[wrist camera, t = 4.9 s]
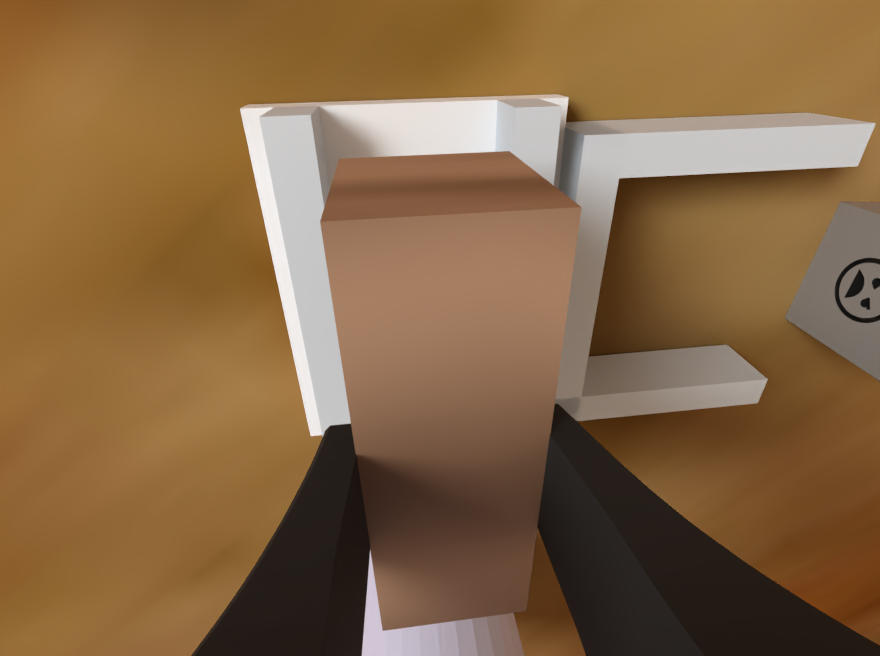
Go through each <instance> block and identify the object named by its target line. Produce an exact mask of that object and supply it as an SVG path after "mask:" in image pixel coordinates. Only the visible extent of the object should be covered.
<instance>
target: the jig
mask: <svg viewBox="0 0 880 656" xmlns="http://www.w3.org/2000/svg"><path fill="white" fill-rule="evenodd" d="M568 98H569V97H565V96H561V95H558V94H552V95H521V96H491V97H461V98H431V99H401V100H370V101H340V102H310V103H280V104H250V105H246V106H244V107H242V108H240V111H241V116H242V120H243V125H244V129H245V134H246V139H247V143H248V148H249V153H250V157H251V162H252V166H253V171H254V176H255V180H256V185H257V190H258V194H259V199H260V204H261V208H262V213H263V217H264V222H265V227H266V231H267V236H268V241H269V245H270V250H271V254H272V259H273V264H274V268H275V273H276V278H277V282H278V287H279V291H280V296H281V301H282V305H283V310H284V315H285V319H286V324H287V328H288V333H289V338H290V342H291V347H292V352H293V356H294V361H295V366H296V370H297V375H298V379H299V384H300V389H301V393H302V398H303V403H304V407H305V412H306V416H307V421H308V426H309V430H310V435H311V436H317V435H322V436H323V435H324V433H325V430H326V429H327V428H328V427H329V426H330V425H340V424H351V421H350V414H349V408H348V401H347V394H346V388H345V381H344V375H343V368H342V362H341V355H340V349H339V342H338V336H337V329H336V323H335V316H334V310H333V303H332V297H331V290H330V283H329V277H328V270H327V264H326V257H325V251H324V244H323V238H322V231H321V225H320V220H321V217H322V214H323V210H324V207H325V204H326V200H327V197H328V194H329V190H330V187H331V184H332V180H333V177H334V174H335V170H336V167H337V164H338V160H339V159H341V158H364V157H387V156H410V155H433V154H456V153H478V152H501V151H510V152H511V153H512V154H514V155H515V156H516V157H518V158H519V159H520V160H521V161H523V162H524V163H525V164H527V165H528V166H529V167H530V168H532V169H533V170H534V171H536V172H537V173H538V174H540V175H541V176H542V177H543V178H545V179H546V180H547V181H549V182H550V183H551V184H552V185H554V186H555V187H556V188H558V189H559V190H560V191H561V192H563V193H564V194H565V195H567V196H568V197H569V198H570V199H572V200H573V201H574V202H576V203H577V204H578V205H579V206H581V207H582V208H581V215H580V223H579V230H578V237H577V244H576V252H575V259H574V266H573V274H572V281H571V288H570V296H569V303H568V310H567V318H566V325H565V332H564V339H563V347H562V354H561V361H560V369H559V376H558V383H557V391H556V398H555V404H559V405H560V406H561V407H562V408H563V409H564V410H565V411H567V412H568V413H569V414H570V415H571V416H572V417H573V418H574V419H575V420H576V421H585V420H595V419H605V418H615V417H625V416H635V415H645V414H655V413H665V412H675V411H685V410H695V409H705V408H715V407H725V406H735V405H745V404H755V403H758V401H759V399H760V397H761V394H762V392H763V390H764V387H765V385H766V382H767V380H768V379H767V378H766V377H765V376H763V375H762V374H761V373H760V372H759V371H758V370H756V369H755V368H754V367H753V366H752V365H750V364H749V363H748V362H747V361H746V360H745V359H743V358H742V357H741V356H740V355H739V354H737V353H736V352H735V351H734V350H733V349H732V348H730V347H729V346H728V345H715V346H704V347H692V348H681V349H669V350H658V351H646V352H635V353H624V354H612V355H601V356H589V350H590V344H591V339H592V333H593V327H594V321H595V315H596V310H597V304H598V298H599V292H600V286H601V281H602V275H603V269H604V263H605V257H606V252H607V246H608V240H609V234H610V228H611V223H612V217H613V211H614V205H615V199H616V194H617V188H618V182H619V178H637V177H657V176H677V175H696V174H716V173H736V172H755V171H775V170H795V169H814V168H834V167H854V166H858V164H859V162H860V160H861V157H862V155H863V152H864V150H865V148H866V145H867V143H868V141H869V138H870V136H871V134H872V131H873V129H874V126H875V124H876V123H871V122H865V121H858V120H852V119H845V118H839V117H833V116H826V115H820V114H813V113H786V114H760V115H734V116H708V117H683V118H657V119H631V120H605V121H580V122H566V116H567V107H568ZM588 356H589V357H588Z"/></svg>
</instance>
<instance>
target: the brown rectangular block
mask: <svg viewBox="0 0 880 656" xmlns="http://www.w3.org/2000/svg"><path fill="white" fill-rule="evenodd" d="M581 208H582V207H581V206H579V205H578V204H577V203H576V202H574V201H573V200H572V199H570V198H569V197H568V196H567V195H565V194H564V193H563V192H561V191H560V190H559V189H558V188H556V187H555V186H554V185H552V184H551V183H550V182H549V181H547V180H546V179H545V178H543V177H542V176H541V175H540V174H538V173H537V172H536V171H534V170H533V169H532V168H530V167H529V166H528V165H527V164H525V163H524V162H523V161H521V160H520V159H519V158H518V157H516V156H515V155H514V154H512V153H511V152H510V151H501V152H478V153H456V154H433V155H410V156H387V157H364V158H341V159H339V160H338V164H337V167H336V170H335V174H334V177H333V180H332V184H331V187H330V190H329V194H328V197H327V200H326V204H325V207H324V210H323V214H322V217H321V220H320V225H321V231H322V238H323V244H324V251H325V257H326V264H327V270H328V277H329V283H330V290H331V297H332V303H333V310H334V316H335V323H336V329H337V336H338V342H339V349H340V355H341V362H342V368H343V375H344V381H345V388H346V394H347V401H348V408H349V414H350V421H351V427H352V434H353V440H354V447H355V453H356V455H357V462H358V469H359V475H360V482H361V488H362V495H363V501H364V508H365V515H366V521H367V528H368V534H369V541H370V551H371V558H372V564H373V571H374V577H375V584H376V590H377V597H378V603H379V610H380V617H381V623H382V630H383V631H386V630H393V629H400V628H408V627H415V626H422V625H430V624H437V623H444V622H451V621H459V620H466V619H473V618H480V617H488V616H495V615H502V614H510V613H517V612H524V611H526V610H527V603H528V595H529V588H530V581H531V573H532V566H533V559H534V551H535V544H536V537H537V529H538V527H537V525H538V518H539V511H540V503H541V496H542V489H543V481H544V474H545V466H546V459H547V452H548V444H549V437H550V434H551V427H552V420H553V413H554V405H555V398H556V391H557V383H558V376H559V369H560V361H561V354H562V347H563V339H564V332H565V325H566V318H567V310H568V303H569V296H570V288H571V281H572V274H573V266H574V259H575V252H576V244H577V237H578V230H579V223H580V215H581Z"/></svg>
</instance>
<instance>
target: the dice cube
mask: <svg viewBox="0 0 880 656" xmlns="http://www.w3.org/2000/svg"><path fill="white" fill-rule="evenodd" d="M785 319H787V320H788V321H790V322H791V323H793V324H794V325H796V326H797V327H799V328H800V329H802V330H803V331H805V332H806V333H808V334H809V335H811V336H812V337H814V338H815V339H817V340H818V341H820V342H821V343H823V344H824V345H826V346H827V347H829V348H831V349H832V350H834V351H835V352H837V353H838V354H840V355H841V356H843V357H844V358H846V359H847V360H849V361H850V362H852V363H853V364H855V365H856V366H858V367H859V368H861V369H862V370H864V371H865V372H867V373H868V374H870V375H871V376H873V377H874V378H876V379H877V380H879V381H880V202H840V204H839V206H838V208H837V210H836V212H835V214H834V216H833V218H832V221H831V223H830V225H829V227H828V229H827V231H826V233H825V235H824V237H823V239H822V241H821V244H820V246H819V248H818V250H817V252H816V254H815V256H814V258H813V260H812V262H811V264H810V266H809V269H808V271H807V273H806V275H805V277H804V279H803V281H802V283H801V285H800V287H799V289H798V292H797V294H796V296H795V298H794V300H793V302H792V304H791V306H790V308H789V310H788V312H787V315H786V317H785Z"/></svg>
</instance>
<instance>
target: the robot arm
mask: <svg viewBox="0 0 880 656" xmlns="http://www.w3.org/2000/svg"><path fill="white" fill-rule="evenodd" d="M537 527H538V530H539V532H540V535H541V537H542V540H543V543H544V545H545V548H546V550H547V553H548V556H549V558H550V561H551V563H552V566H553V569H554V571H555V574H556V576H557V579H558V581H559V584H560V586H561V589H562V592H563V594H564V597H565V599H566V602H567V604H568V607H569V610H570V612H571V615H572V617H573V620H574V622H575V625H576V628H577V630H578V633H579V636H580V639H581V642H582V645H583V648H584V651H585V654H586V656H880V646H879V645H878V644H876V643H874V642H872V641H871V640H869V639H867V638H865V637H864V636H862V635H860V634H858V633H856V632H855V631H853V630H851V629H850V628H848V627H846V626H845V625H843V624H841V623H840V622H838V621H836V620H835V619H833V618H831V617H830V616H828V615H826V614H825V613H823V612H821V611H820V610H818V609H816V608H815V607H813V606H812V605H810V604H808V603H807V602H805V601H804V600H802V599H801V598H799V597H797V596H796V595H794V594H793V593H791V592H790V591H788V590H787V589H785V588H783V587H782V586H780V585H779V584H777V583H776V582H774V581H772V580H771V579H769V578H768V577H766V576H765V575H763V574H762V573H760V572H759V571H757V570H756V569H754V568H753V567H751V566H750V565H748V564H747V563H745V562H744V561H743V560H741V559H740V558H738V557H737V556H736V555H734V554H733V553H731V552H730V551H729V550H727V549H726V548H724V547H723V546H722V545H720V544H719V543H718V542H716V541H715V540H713V539H712V538H711V537H709V536H708V535H706V534H705V533H704V532H702V531H701V530H700V529H698V528H697V527H696V526H694V525H693V524H692V523H691V522H689V521H688V520H687V519H685V518H684V517H683V516H682V515H680V514H679V513H678V512H677V511H676V510H674V509H673V508H672V507H671V506H669V505H668V504H667V503H666V502H664V501H663V500H662V499H661V498H660V497H658V496H657V495H656V494H655V493H654V492H653V491H651V490H650V489H649V488H648V487H647V486H646V485H644V484H643V483H642V482H641V481H640V480H639V479H638V478H637V477H635V476H634V475H633V474H632V473H631V472H630V471H629V470H628V469H627V468H625V467H624V466H623V465H622V464H621V463H620V462H619V461H618V460H617V459H615V458H614V457H613V456H612V455H611V454H610V453H609V452H608V451H607V450H606V449H605V448H604V447H603V446H602V445H601V444H600V443H598V442H597V441H596V440H595V439H594V438H593V437H592V436H591V435H590V434H589V433H588V432H587V431H586V430H585V429H584V428H583V427H582V426H581V425H580V424H579V423H578V422H577V421H576V420H575V419H574V418H573V417H572V416H571V415H570V414H569V413H568V412H567V411H565V410H564V409H563V408H562V407H561V406H560V405H559V404H555V405H554V413H553V420H552V427H551V434H550V437H549V444H548V452H547V459H546V466H545V474H544V481H543V489H542V496H541V503H540V511H539V518H538V525H537ZM191 656H524V653H523V649H522V645H521V640H520V636H519V632H518V628H517V624H516V620H515V616H514V613H510V614H502V615H495V616H488V617H480V618H473V619H466V620H459V621H451V622H444V623H437V624H430V625H422V626H415V627H408V628H400V629H393V630H386V631H383V630H382V623H381V617H380V610H379V603H378V597H377V590H376V584H375V577H374V571H373V564H372V558H371V551H370V541H369V534H368V528H367V521H366V515H365V508H364V501H363V495H362V488H361V482H360V475H359V469H358V462H357V455H356V453H355V447H354V440H353V434H352V427H351V424H340V425H330V426H329V427H328V428H327V429H326V430H325V433H324V435H323V438H322V441H321V443H320V445H319V448H318V450H317V452H316V455H315V457H314V459H313V461H312V464H311V466H310V468H309V470H308V472H307V474H306V476H305V478H304V480H303V482H302V484H301V486H300V488H299V490H298V492H297V494H296V495H295V497H294V499H293V501H292V503H291V505H290V507H289V509H288V510H287V512H286V514H285V516H284V518H283V520H282V521H281V523H280V525H279V526H278V528H277V530H276V531H275V533H274V535H273V536H272V538H271V540H270V541H269V543H268V545H267V546H266V548H265V550H264V551H263V553H262V555H261V556H260V558H259V560H258V561H257V563H256V564H255V566H254V568H253V569H252V571H251V572H250V574H249V575H248V577H247V578H246V580H245V581H244V583H243V584H242V586H241V587H240V589H239V590H238V592H237V593H236V595H235V596H234V598H233V599H232V601H231V602H230V603H229V605H228V606H227V608H226V609H225V611H224V612H223V613H222V615H221V616H220V618H219V619H218V621H217V622H216V623H215V625H214V626H213V627H212V629H211V630H210V631H209V633H208V634H207V635H206V637H205V638H204V639H203V641H202V642H201V643H200V645H199V646H198V647H197V649H196V650H195V651H194V653H193V654H192V655H191Z"/></svg>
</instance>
